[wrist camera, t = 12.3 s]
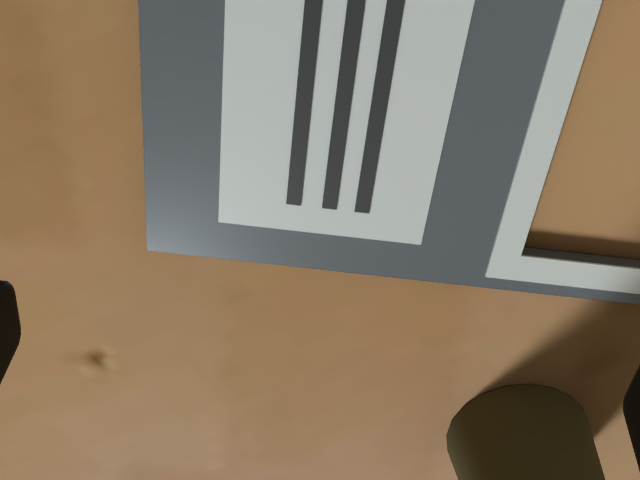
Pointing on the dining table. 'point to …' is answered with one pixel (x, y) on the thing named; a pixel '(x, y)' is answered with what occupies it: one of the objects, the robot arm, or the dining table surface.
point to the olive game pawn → (523, 437)
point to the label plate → (366, 137)
